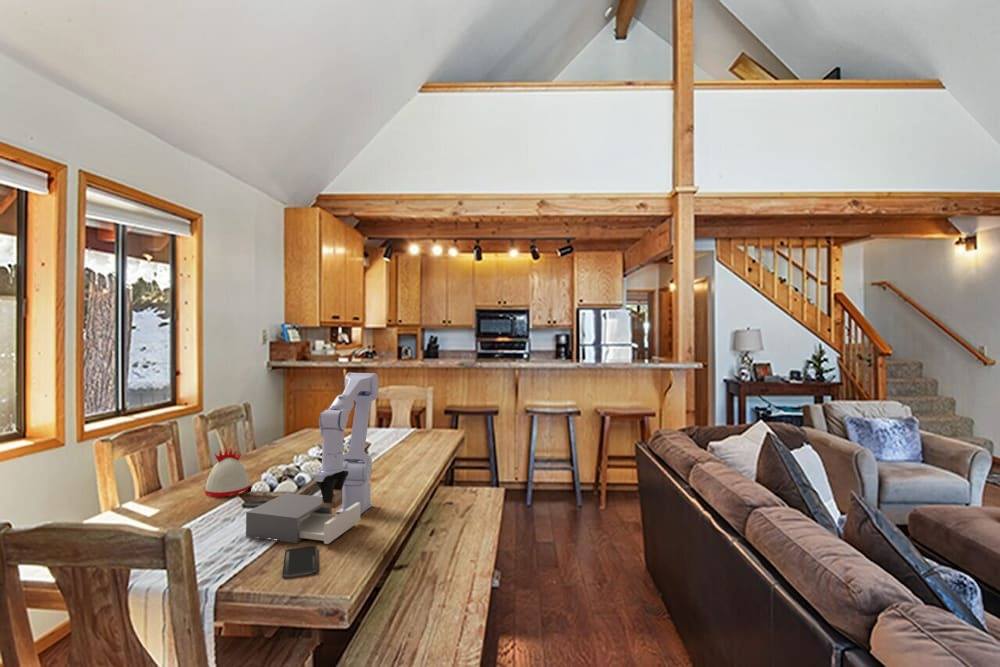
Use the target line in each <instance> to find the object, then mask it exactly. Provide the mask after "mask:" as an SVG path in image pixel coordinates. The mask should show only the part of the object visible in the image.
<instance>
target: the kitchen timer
mask: <svg viewBox="0 0 1000 667" xmlns="http://www.w3.org/2000/svg"><path fill="white" fill-rule="evenodd" d="M236 455H237V450H235V451H234V452H233V451H232V448H230V449H229V453H228V450H227V448H225V450H224V454H223V453H222V450H221V449H219V454H218V455H217V453H214V456H215V459H217V463H216V464H215V465H213V468H212V469H211V470H210V471H209V472H208V477H207V481H206V483H205V488H204V489H205V490H204V491H205V492H204V494H205V496H207V497H210V496H212V497H211V498H224V497H223V496H228V497H232V496H231V495H234V496H236V495H235V494H238V493H239V492H241V491H244V490H247V489H248V488H249V487H250V488H251V486H250V485H251V484H250V483H251V482H250V477H249V475H248V472H247V468H246V467H245V465H244V464H243V463H242V462H241V461H240V460H239V459H240V458H241V455H242V454H241V453H239V455H238V456H236ZM238 495H239V494H238Z"/></svg>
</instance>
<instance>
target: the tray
mask: <svg viewBox="0 0 1000 667" xmlns="http://www.w3.org/2000/svg"><path fill="white" fill-rule="evenodd" d="M360 521H361V514H360V503H359V502H357V503H355V504H353V505H352V506H350V507H349V508H347V509H346V510H344V511H343V512H341V513H337V514H333V513H332V514H326V513H317V512H312V513H310V514H308V515H307V516H305V517H303V518H301V519H300V534H299V538H304V539H308V540H315V541H323V544H324V545H325V544H326V545H329V544H331V542H333V541H335V540H336V539H337V538H338V537H340V536H341V535H342V534H344V533H345V532H347V531H348V530H349V529H351V528H352V527H354V526H355V525H356V524H357V523H359V522H360Z"/></svg>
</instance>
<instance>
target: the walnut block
mask: <svg viewBox="0 0 1000 667" xmlns="http://www.w3.org/2000/svg"><path fill="white" fill-rule="evenodd" d="M342 496H343V490H340V489H334V491H333V499H332V502H331V503H324V501H323V497H322V496H321V497H322V507H326V508H332V509H337V508H338V507H339V506H342Z"/></svg>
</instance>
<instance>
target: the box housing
mask: <svg viewBox="0 0 1000 667" xmlns="http://www.w3.org/2000/svg"><path fill="white" fill-rule="evenodd" d="M312 512H317V513H326V514H333V508H326V507H322V496H317V495H316V496H315V495H309V494H298V493H288V492H285V493H283V494H281V495H279V496H277V497H275V498H272V499H271V500H268V501H267V502H264V503H262V504H260V505H258V506H256V507H254V508H252V509H250V510H248V511H246V512H245V514H246V516H245V537H246V536H250V537H249V538H254V537H259V538H258V539H261V538H271V539H277V540H280V541H279V542H284V541H285V543H291V542H293V543H292V544H298V543H299V542H301V541H303V540H304V539H305V538H299V534H300V519H301V518H303V517H305V516H307V515H308V514H310V513H312ZM297 542H298V543H297Z"/></svg>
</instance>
